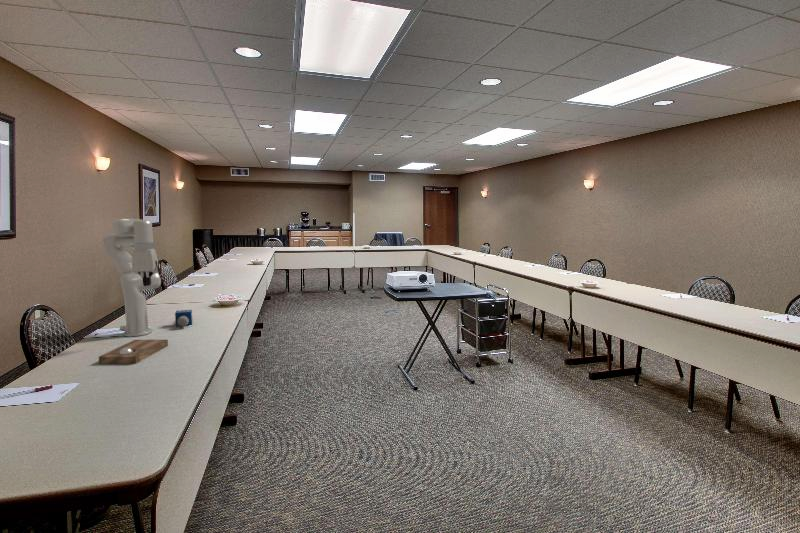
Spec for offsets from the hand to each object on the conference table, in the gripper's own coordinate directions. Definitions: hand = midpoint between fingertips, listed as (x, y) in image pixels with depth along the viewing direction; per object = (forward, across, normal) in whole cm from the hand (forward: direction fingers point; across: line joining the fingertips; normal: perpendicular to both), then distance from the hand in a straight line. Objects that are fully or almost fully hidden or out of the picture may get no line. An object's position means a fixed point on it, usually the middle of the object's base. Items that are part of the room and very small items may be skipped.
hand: (147, 285), depth 201 cm
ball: (+25, +5, -26) cm, 36 cm away
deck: (+27, +4, -20) cm, 34 cm away
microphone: (+27, -1, +34) cm, 43 cm away
